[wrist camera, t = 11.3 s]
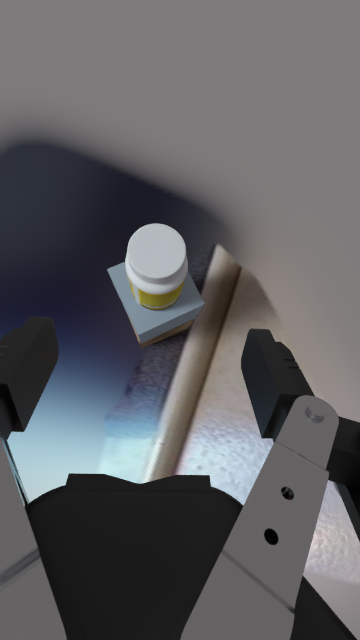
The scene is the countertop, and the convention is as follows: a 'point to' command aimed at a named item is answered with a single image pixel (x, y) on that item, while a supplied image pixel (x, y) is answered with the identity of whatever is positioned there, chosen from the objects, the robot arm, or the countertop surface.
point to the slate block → (156, 321)
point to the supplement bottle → (156, 266)
